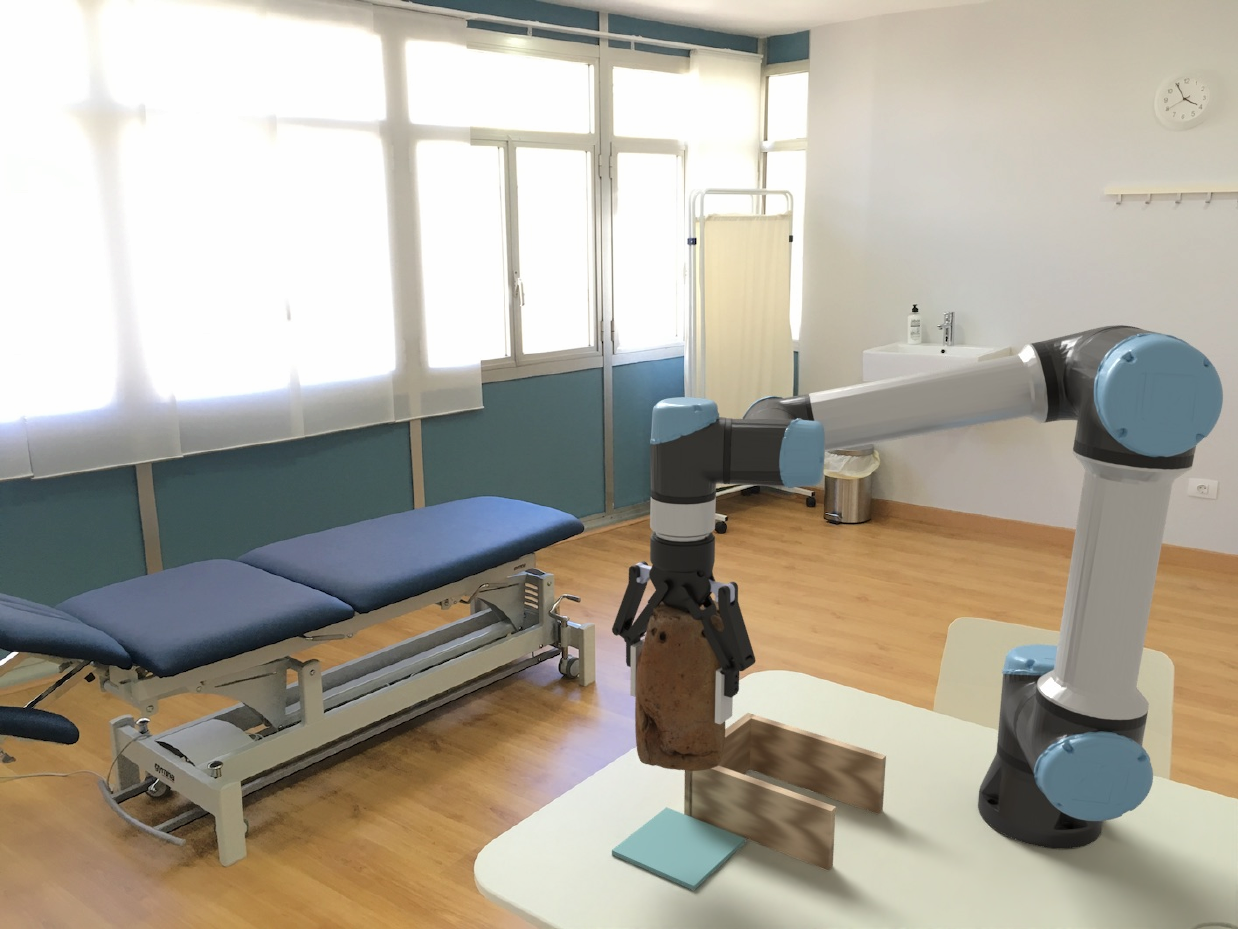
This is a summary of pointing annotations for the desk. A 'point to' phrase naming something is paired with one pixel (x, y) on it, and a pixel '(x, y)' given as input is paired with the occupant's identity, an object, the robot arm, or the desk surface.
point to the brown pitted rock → (678, 693)
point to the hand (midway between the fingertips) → (680, 705)
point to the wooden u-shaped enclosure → (776, 810)
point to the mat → (679, 848)
